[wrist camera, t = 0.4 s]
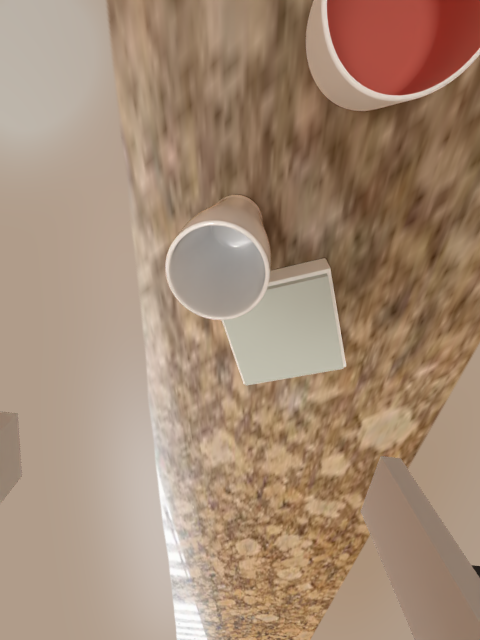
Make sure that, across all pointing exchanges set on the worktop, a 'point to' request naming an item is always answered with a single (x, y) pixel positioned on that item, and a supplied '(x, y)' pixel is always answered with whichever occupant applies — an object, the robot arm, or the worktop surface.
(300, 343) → the coaster
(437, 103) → the worktop surface
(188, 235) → the drinking glass
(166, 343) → the worktop surface
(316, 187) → the worktop surface
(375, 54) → the cup
